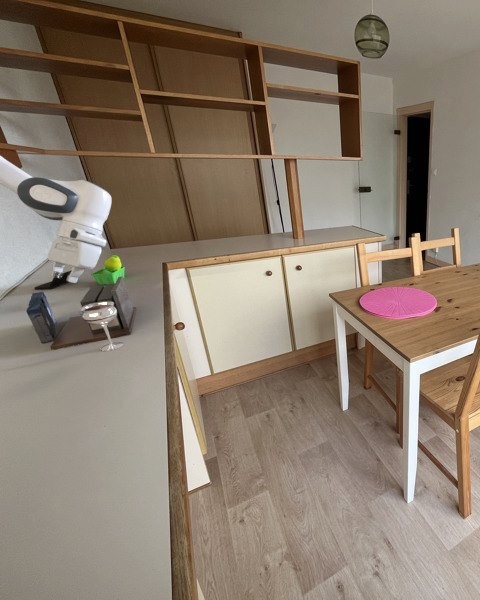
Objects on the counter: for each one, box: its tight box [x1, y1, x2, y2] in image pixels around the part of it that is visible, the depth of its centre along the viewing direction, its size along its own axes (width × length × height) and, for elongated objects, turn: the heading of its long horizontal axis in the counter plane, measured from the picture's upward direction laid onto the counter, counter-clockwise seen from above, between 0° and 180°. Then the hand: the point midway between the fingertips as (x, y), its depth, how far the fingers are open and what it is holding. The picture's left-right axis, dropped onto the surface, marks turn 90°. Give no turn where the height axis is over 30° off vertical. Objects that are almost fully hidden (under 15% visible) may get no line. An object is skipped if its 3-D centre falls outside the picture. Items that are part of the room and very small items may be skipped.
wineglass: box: [79, 301, 125, 352], centre depth 83 cm, size 7×7×12 cm
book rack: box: [50, 276, 138, 351], centre depth 94 cm, size 16×22×13 cm
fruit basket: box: [91, 254, 126, 286], centre depth 134 cm, size 11×9×11 cm
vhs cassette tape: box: [26, 291, 57, 344], centre depth 91 cm, size 18×3×10 cm, turn 43°
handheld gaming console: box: [33, 270, 72, 290], centre depth 129 cm, size 12×7×10 cm
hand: (63, 279), depth 92 cm, fingers open, 8 cm apart
